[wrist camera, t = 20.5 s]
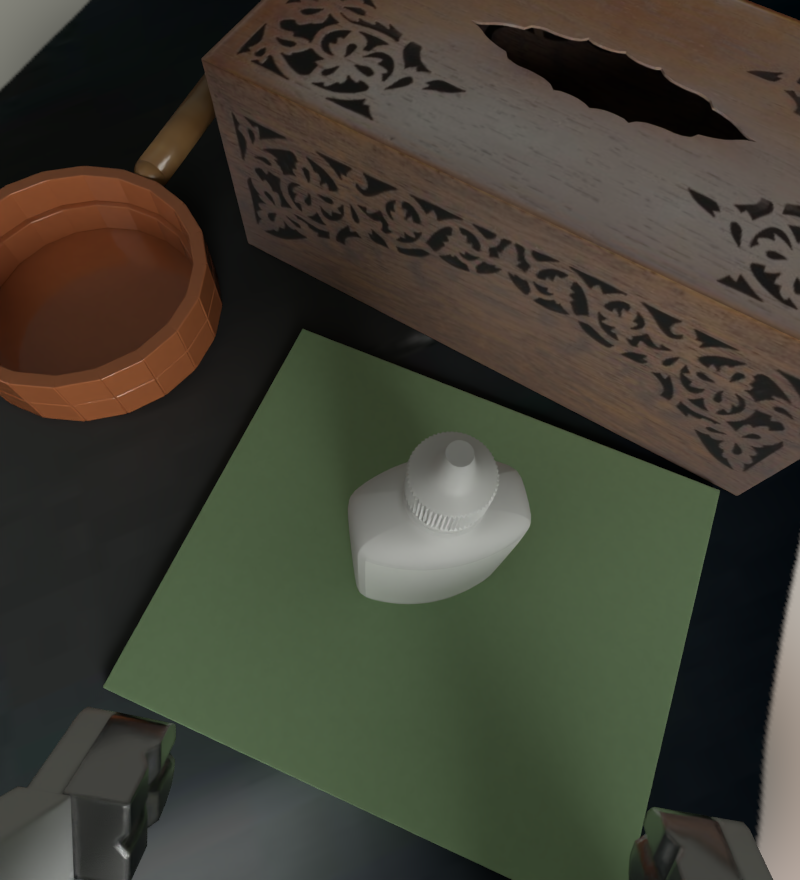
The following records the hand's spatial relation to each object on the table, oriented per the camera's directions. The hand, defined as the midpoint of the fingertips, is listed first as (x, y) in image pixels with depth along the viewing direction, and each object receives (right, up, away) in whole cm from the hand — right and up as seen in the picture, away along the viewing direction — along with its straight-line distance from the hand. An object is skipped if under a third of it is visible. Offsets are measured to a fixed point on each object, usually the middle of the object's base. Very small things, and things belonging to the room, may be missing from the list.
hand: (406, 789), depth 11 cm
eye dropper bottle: (+1, +1, +16) cm, 16 cm away
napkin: (+1, 0, +16) cm, 16 cm away
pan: (-14, +12, +20) cm, 27 cm away
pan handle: (-10, +21, +21) cm, 31 cm away
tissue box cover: (+7, +15, +22) cm, 28 cm away
